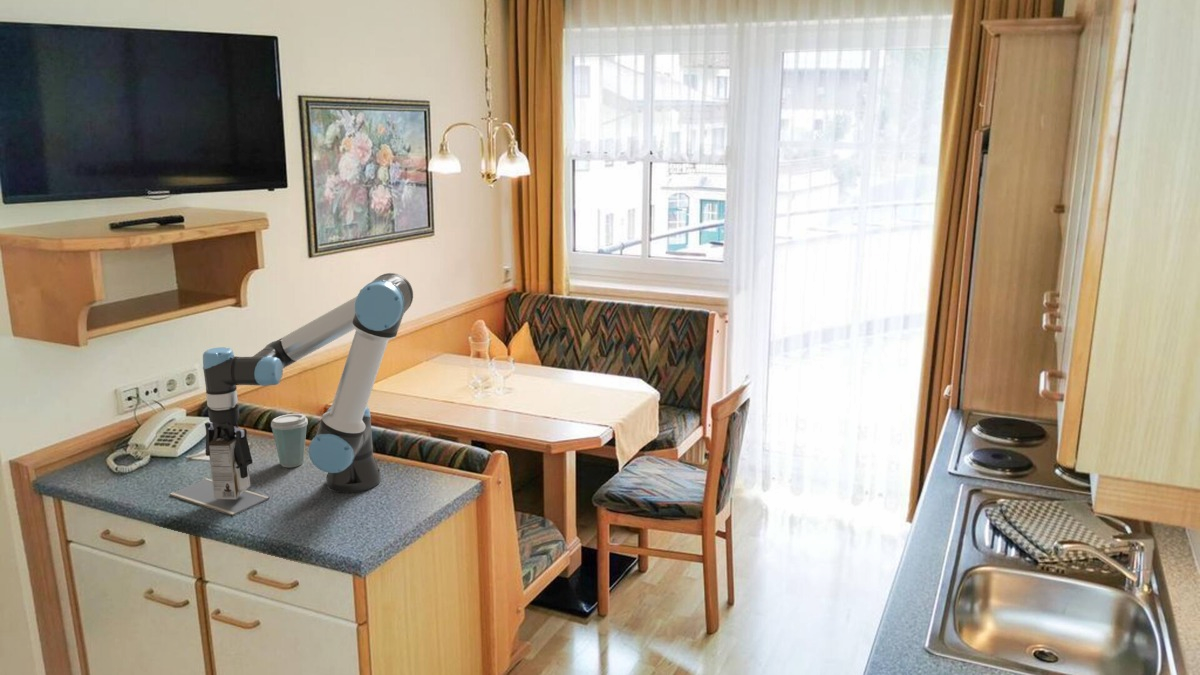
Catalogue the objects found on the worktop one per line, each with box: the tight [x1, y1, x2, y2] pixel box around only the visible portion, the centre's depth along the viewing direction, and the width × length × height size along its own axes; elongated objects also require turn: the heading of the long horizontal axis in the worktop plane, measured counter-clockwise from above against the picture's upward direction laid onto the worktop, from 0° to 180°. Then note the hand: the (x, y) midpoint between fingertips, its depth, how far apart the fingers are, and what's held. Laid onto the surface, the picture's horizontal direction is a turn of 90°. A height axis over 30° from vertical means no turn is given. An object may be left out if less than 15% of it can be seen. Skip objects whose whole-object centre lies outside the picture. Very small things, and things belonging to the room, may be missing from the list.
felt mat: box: [169, 477, 270, 517], centre depth 250 cm, size 26×12×1 cm, turn 60°
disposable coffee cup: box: [270, 413, 309, 468], centre depth 271 cm, size 11×11×15 cm
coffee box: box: [208, 437, 251, 499], centre depth 245 cm, size 9×6×16 cm
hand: (231, 484), depth 246 cm, fingers closed on coffee box, 8 cm apart
